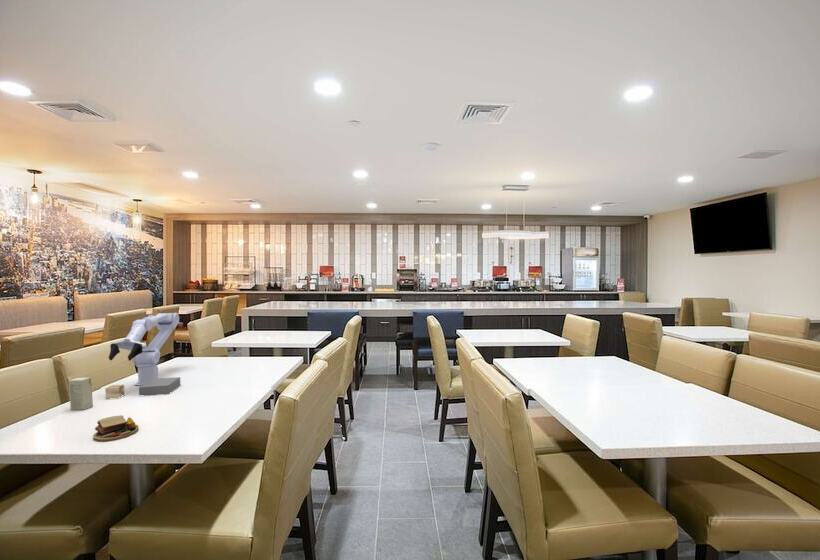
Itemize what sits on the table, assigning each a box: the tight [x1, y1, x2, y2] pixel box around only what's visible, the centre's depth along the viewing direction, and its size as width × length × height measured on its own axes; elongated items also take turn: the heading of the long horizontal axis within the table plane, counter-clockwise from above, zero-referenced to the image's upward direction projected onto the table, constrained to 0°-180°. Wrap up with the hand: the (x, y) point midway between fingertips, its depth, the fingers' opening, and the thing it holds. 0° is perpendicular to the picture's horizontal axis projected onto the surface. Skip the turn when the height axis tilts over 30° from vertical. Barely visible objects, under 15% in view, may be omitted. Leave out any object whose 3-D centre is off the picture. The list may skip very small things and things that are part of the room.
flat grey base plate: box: [138, 376, 181, 396], centre depth 184 cm, size 14×12×4 cm
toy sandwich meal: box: [92, 415, 140, 442], centre depth 135 cm, size 12×14×5 cm
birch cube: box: [104, 384, 125, 400], centre depth 175 cm, size 5×5×5 cm
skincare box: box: [68, 377, 94, 411], centre depth 161 cm, size 6×4×12 cm
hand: (119, 358), depth 175 cm, fingers open, 7 cm apart
